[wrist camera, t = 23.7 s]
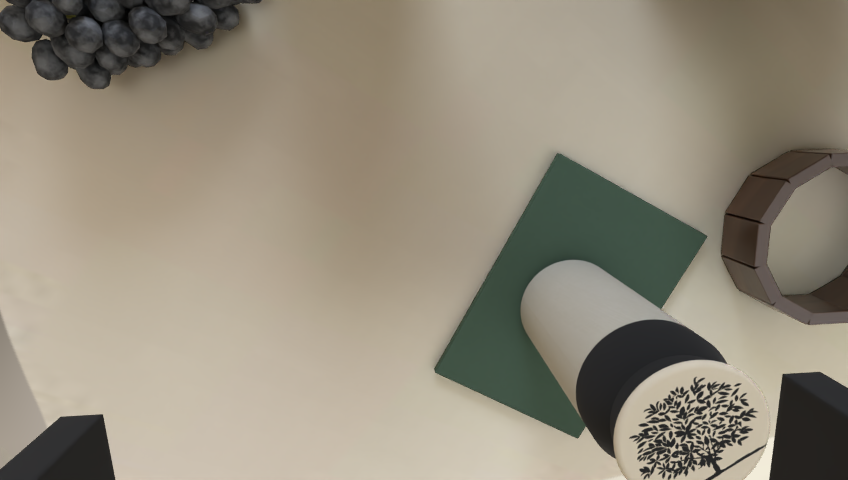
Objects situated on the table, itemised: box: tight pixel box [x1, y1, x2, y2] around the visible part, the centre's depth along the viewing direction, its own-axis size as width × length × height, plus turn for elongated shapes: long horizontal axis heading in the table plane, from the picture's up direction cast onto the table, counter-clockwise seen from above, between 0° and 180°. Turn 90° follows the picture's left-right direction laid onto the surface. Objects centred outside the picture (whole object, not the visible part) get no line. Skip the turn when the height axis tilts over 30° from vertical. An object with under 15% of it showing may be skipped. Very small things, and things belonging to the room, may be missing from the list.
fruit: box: [0, 0, 262, 89], centre depth 32 cm, size 9×8×15 cm
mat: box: [435, 153, 707, 438], centre depth 42 cm, size 20×14×1 cm
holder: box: [721, 149, 848, 325], centre depth 40 cm, size 13×13×4 cm
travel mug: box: [521, 260, 770, 480], centre depth 33 cm, size 8×8×18 cm
